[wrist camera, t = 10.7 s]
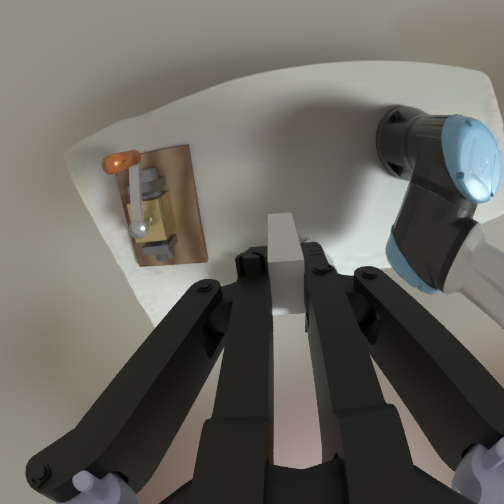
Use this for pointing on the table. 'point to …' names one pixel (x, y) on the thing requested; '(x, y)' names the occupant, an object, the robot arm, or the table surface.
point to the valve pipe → (157, 217)
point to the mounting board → (184, 205)
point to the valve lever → (133, 162)
